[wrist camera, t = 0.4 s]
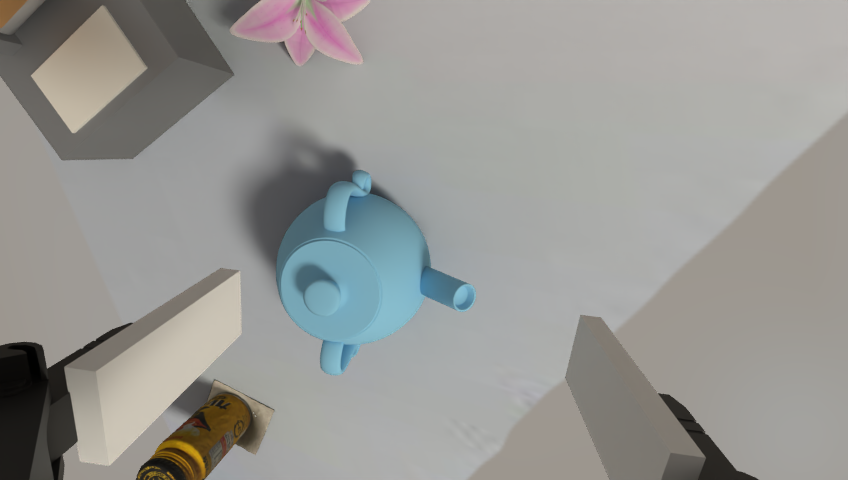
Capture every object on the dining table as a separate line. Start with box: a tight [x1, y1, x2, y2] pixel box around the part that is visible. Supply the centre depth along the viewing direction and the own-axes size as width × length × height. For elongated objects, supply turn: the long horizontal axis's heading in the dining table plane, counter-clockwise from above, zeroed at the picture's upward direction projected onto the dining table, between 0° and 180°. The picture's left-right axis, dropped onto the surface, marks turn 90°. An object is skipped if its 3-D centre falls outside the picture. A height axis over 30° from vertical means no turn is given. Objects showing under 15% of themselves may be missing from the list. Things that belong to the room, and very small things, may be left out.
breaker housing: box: [0, 0, 234, 160], centre depth 38 cm, size 22×16×11 cm
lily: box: [230, 0, 370, 66], centre depth 37 cm, size 12×12×10 cm
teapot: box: [276, 170, 476, 375], centre depth 38 cm, size 20×20×13 cm
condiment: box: [136, 380, 274, 480], centre depth 46 cm, size 7×8×12 cm
